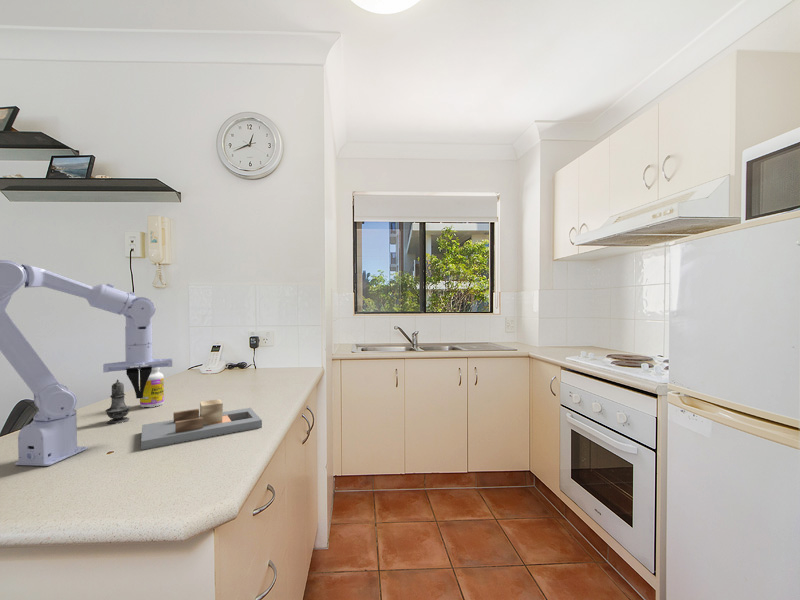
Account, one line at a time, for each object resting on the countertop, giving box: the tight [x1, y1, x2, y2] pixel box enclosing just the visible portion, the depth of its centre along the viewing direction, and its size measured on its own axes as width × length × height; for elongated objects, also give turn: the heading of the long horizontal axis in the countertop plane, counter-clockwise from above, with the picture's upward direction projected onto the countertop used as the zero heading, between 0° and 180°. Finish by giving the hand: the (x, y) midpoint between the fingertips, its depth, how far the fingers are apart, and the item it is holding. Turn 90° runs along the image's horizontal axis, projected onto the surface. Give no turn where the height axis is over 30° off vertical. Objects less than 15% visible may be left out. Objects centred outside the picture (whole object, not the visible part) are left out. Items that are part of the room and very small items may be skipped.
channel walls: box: [173, 408, 203, 433], centre depth 101 cm, size 6×10×2 cm, turn 33°
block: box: [199, 398, 224, 425], centre depth 104 cm, size 5×5×5 cm
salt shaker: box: [105, 379, 131, 425], centre depth 112 cm, size 6×6×12 cm
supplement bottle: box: [139, 367, 165, 408], centre depth 128 cm, size 7×7×13 cm
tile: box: [208, 415, 231, 425], centre depth 105 cm, size 6×7×2 cm
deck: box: [140, 407, 263, 451], centre depth 103 cm, size 27×14×2 cm, turn 123°
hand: (139, 397), depth 99 cm, fingers closed
